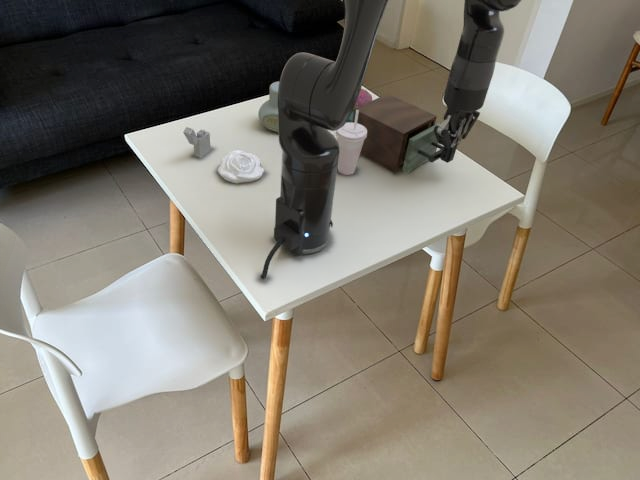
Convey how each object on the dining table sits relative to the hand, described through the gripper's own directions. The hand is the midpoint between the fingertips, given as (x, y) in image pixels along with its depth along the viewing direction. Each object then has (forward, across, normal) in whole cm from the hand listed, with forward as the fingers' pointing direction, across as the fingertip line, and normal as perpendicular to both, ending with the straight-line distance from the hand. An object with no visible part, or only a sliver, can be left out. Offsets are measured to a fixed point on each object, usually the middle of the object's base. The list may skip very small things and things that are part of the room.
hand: (446, 160), depth 110 cm
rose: (+5, +31, -29) cm, 43 cm away
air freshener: (+5, +11, -38) cm, 40 cm away
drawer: (+4, 0, -10) cm, 10 cm away
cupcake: (+5, -6, -31) cm, 32 cm away
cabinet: (+5, 0, -15) cm, 15 cm away
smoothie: (+5, +13, -15) cm, 21 cm away
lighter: (+5, +34, -40) cm, 53 cm away
